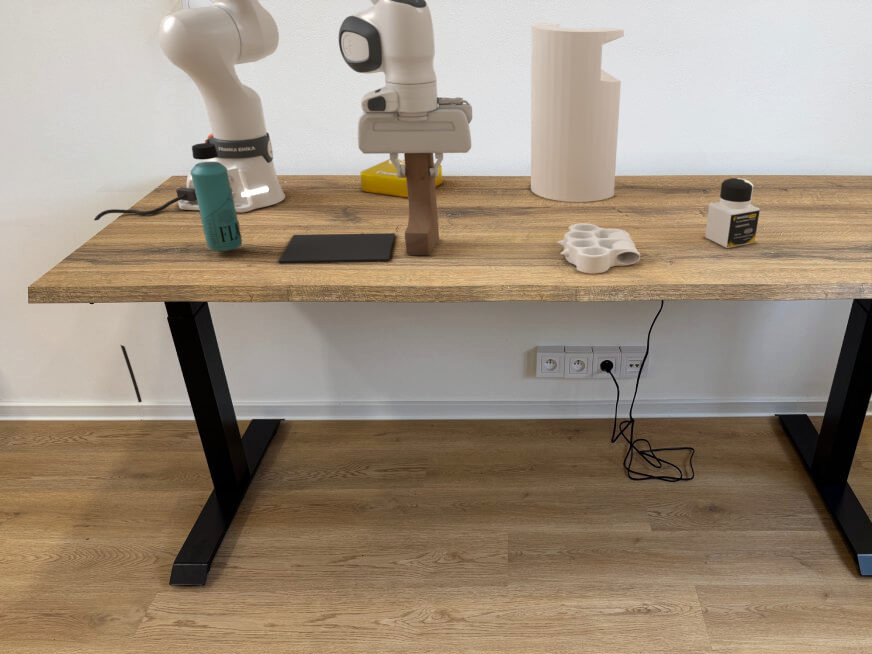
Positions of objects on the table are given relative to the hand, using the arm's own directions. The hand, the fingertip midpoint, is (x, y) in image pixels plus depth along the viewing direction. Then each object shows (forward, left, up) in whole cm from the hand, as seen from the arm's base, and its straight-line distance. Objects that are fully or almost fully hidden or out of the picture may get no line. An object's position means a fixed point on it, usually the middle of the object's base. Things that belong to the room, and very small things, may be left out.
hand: (418, 177), depth 143 cm
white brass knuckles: (+33, -6, -14) cm, 36 cm away
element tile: (-7, +41, -14) cm, 44 cm away
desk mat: (-16, 0, -14) cm, 21 cm away
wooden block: (0, 0, -14) cm, 14 cm away
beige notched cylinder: (+31, +34, -14) cm, 48 cm away
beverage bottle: (-37, -1, -14) cm, 40 cm away
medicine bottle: (+61, +1, -14) cm, 63 cm away
